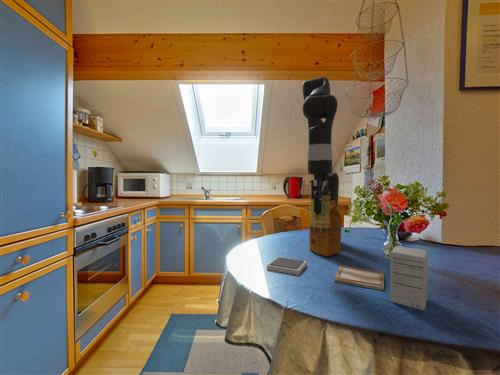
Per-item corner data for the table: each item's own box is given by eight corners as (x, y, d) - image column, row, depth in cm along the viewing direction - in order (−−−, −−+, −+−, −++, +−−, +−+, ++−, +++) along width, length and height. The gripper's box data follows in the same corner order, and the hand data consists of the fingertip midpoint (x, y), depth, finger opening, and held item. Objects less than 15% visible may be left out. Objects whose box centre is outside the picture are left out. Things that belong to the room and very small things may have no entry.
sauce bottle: (315, 234, 79) (315, 170, 78) (306, 230, 85) (306, 170, 84) (334, 233, 80) (334, 170, 79) (323, 229, 86) (323, 170, 85)
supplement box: (394, 291, 69) (395, 245, 69) (427, 299, 64) (428, 249, 64) (388, 301, 63) (389, 251, 63) (424, 311, 59) (425, 257, 58)
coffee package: (323, 247, 113) (323, 198, 112) (344, 254, 102) (345, 200, 101) (305, 250, 109) (305, 198, 108) (325, 258, 98) (325, 201, 97)
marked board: (340, 268, 87) (340, 265, 87) (383, 274, 81) (383, 271, 81) (334, 281, 75) (334, 278, 75) (383, 290, 70) (383, 286, 70)
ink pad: (277, 261, 95) (277, 256, 95) (306, 265, 90) (306, 260, 90) (266, 269, 86) (266, 264, 86) (298, 275, 81) (298, 269, 81)
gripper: (313, 160, 90) (313, 208, 90) (302, 158, 77) (302, 213, 77) (335, 160, 86) (335, 209, 87) (327, 157, 73) (327, 215, 74)
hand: (319, 211), depth 82 cm, fingers closed on sauce bottle, 6 cm apart
